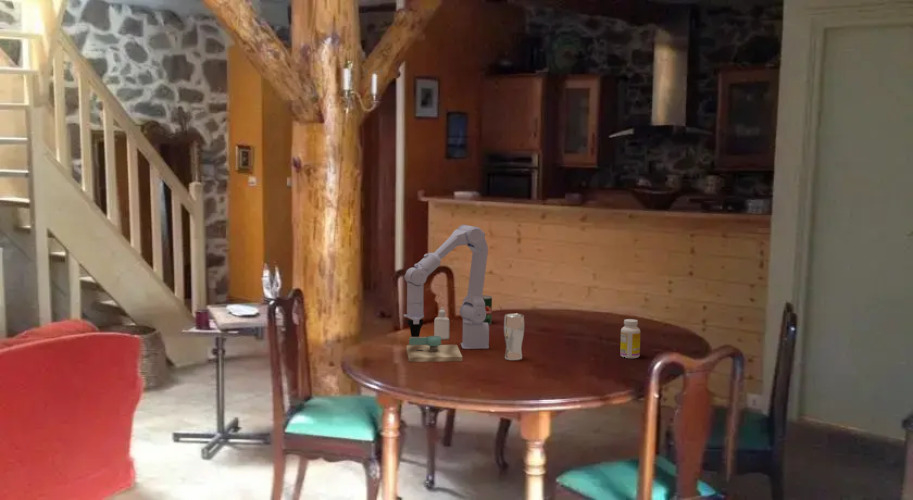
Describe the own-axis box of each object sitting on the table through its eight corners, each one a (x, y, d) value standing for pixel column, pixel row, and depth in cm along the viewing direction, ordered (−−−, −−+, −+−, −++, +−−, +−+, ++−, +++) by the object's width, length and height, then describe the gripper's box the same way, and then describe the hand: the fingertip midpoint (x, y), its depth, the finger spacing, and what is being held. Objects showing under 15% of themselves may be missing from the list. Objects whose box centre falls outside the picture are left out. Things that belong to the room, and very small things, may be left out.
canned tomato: (473, 320, 363) (474, 294, 362) (492, 321, 362) (492, 295, 361) (471, 324, 355) (471, 298, 354) (490, 325, 354) (491, 298, 353)
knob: (440, 342, 305) (440, 335, 305) (441, 346, 300) (441, 338, 300) (408, 343, 304) (408, 335, 304) (409, 346, 299) (409, 338, 299)
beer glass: (509, 361, 295) (510, 317, 293) (499, 357, 301) (500, 314, 299) (527, 359, 298) (528, 316, 296) (516, 355, 304) (517, 312, 303)
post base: (456, 348, 313) (456, 339, 312) (462, 361, 295) (462, 351, 294) (406, 349, 311) (406, 339, 310) (408, 361, 293) (409, 351, 293)
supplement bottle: (640, 355, 306) (642, 319, 304) (638, 359, 300) (639, 322, 298) (621, 353, 308) (622, 317, 307) (618, 357, 302) (619, 321, 300)
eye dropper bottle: (444, 340, 326) (444, 309, 324) (432, 338, 329) (432, 307, 328) (451, 338, 329) (451, 307, 328) (439, 336, 332) (439, 305, 331)
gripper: (403, 298, 311) (402, 336, 312) (404, 306, 296) (404, 345, 298) (422, 298, 311) (422, 335, 313) (425, 305, 297) (425, 345, 299)
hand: (415, 340), depth 306 cm, fingers closed
